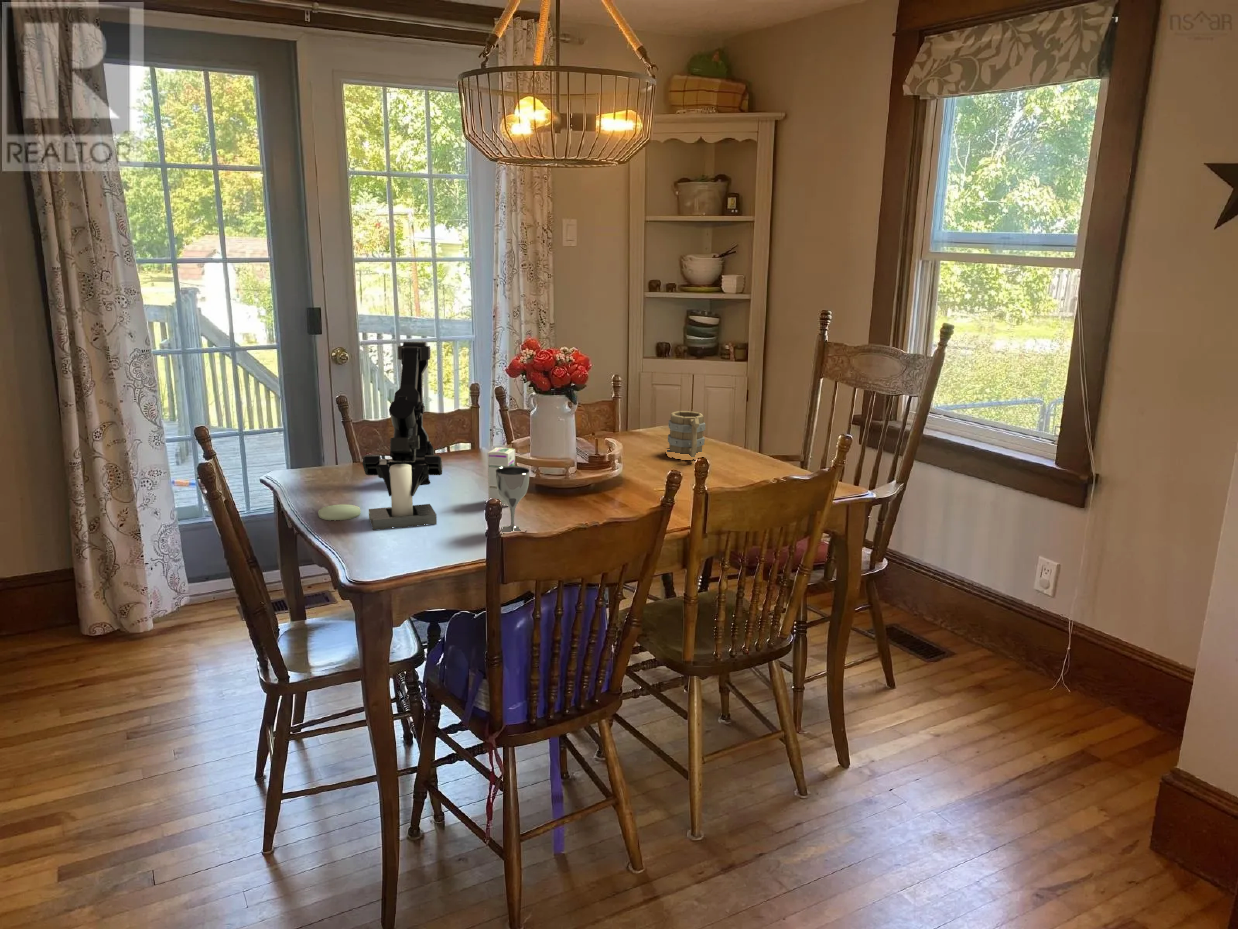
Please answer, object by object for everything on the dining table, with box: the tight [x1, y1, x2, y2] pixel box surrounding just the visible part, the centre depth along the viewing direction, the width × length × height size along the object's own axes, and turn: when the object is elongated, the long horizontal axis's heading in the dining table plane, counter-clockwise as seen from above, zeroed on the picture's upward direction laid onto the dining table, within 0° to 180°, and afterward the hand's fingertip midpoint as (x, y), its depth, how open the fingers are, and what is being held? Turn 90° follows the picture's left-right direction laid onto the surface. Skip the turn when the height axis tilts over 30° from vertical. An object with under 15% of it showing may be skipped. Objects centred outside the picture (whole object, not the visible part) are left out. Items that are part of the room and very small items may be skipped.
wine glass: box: [496, 465, 530, 532], centre depth 212 cm, size 8×8×15 cm
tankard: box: [666, 410, 706, 457], centre depth 284 cm, size 20×13×15 cm, turn 6°
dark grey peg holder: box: [368, 503, 438, 531], centre depth 217 cm, size 15×9×2 cm, turn 112°
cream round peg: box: [389, 464, 414, 517], centre depth 216 cm, size 5×5×14 cm
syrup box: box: [487, 447, 516, 507], centre depth 233 cm, size 6×6×14 cm
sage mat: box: [318, 504, 361, 522], centre depth 221 cm, size 10×10×1 cm
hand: (401, 495), depth 214 cm, fingers closed on cream round peg, 5 cm apart
